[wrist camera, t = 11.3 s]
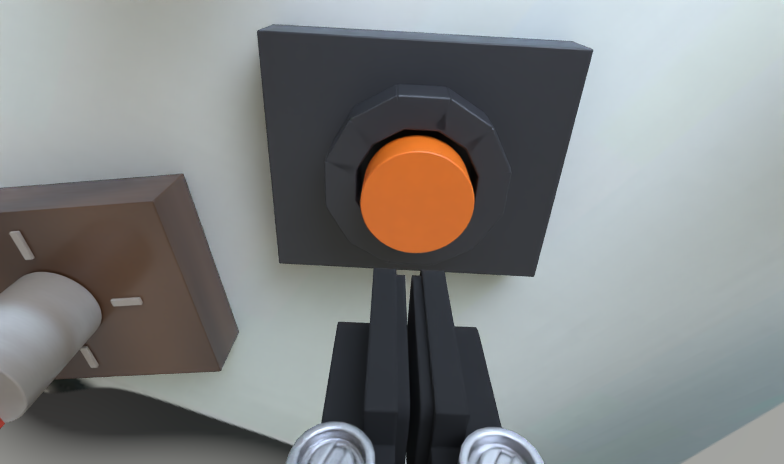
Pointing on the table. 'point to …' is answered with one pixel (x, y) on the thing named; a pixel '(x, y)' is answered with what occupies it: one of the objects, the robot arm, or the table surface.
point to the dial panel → (125, 271)
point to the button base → (416, 117)
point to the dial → (40, 335)
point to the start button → (416, 194)
